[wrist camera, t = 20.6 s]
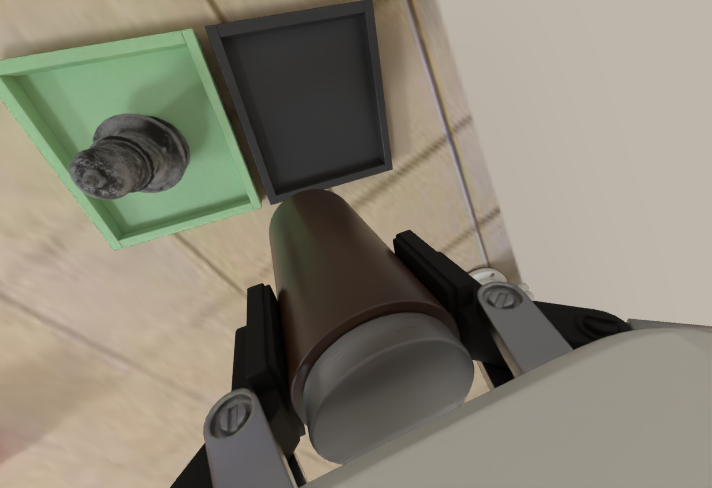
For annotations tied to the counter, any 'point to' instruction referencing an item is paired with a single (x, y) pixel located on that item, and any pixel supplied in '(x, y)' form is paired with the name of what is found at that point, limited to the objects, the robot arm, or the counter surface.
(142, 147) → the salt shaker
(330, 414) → the pepper shaker
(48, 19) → the counter surface
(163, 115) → the pale tray
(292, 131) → the dark tray
